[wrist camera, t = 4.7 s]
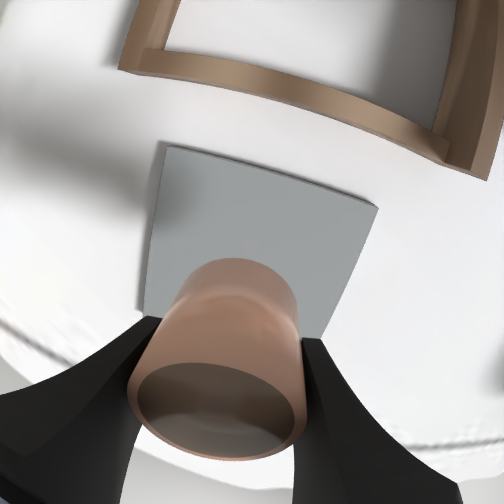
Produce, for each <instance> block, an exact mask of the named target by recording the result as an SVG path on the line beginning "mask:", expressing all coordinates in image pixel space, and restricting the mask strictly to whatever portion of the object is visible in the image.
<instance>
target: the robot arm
mask: <svg viewBox="0 0 504 504" xmlns="http://www.w3.org/2000/svg"><path fill="white" fill-rule="evenodd" d="M162 319H163V318H159V317H153V316H148V315H147V316H145V317H144V318H142V319H141V320H140V321H138V322H137V323H136V324H134V325H133V326H132V327H130V328H129V329H128V330H126V331H125V332H124V333H122V334H121V335H120V336H118V337H117V338H116V339H114V340H113V341H112V342H110V343H109V344H107V345H106V346H105V347H103V348H102V349H100V350H99V351H97V352H96V353H94V354H92V355H91V356H89V357H88V358H86V359H85V360H83V361H82V362H80V363H78V364H76V365H75V366H73V367H71V368H69V369H67V370H65V371H63V372H62V373H60V374H58V375H55V376H53V377H51V378H49V379H46V380H44V381H41V382H39V383H37V384H34V385H32V386H29V387H26V388H23V389H20V390H17V391H13V392H10V393H6V394H2V395H0V504H119V503H120V497H121V493H122V488H123V483H124V480H125V476H126V472H127V468H128V463H129V460H130V457H131V454H132V450H133V447H134V443H135V441H136V438H137V435H138V433H139V431H140V428H141V426H142V423H141V422H140V421H139V419H138V418H137V417H136V415H135V414H134V412H133V410H132V408H131V406H130V404H129V401H128V396H127V385H128V381H129V379H130V377H131V375H132V373H133V371H134V369H135V367H136V366H137V364H138V362H139V360H140V358H141V357H142V355H143V353H144V351H145V349H146V348H147V346H148V344H149V342H150V340H151V339H152V337H153V335H154V333H155V332H156V330H157V328H158V326H159V325H160V323H161V321H162ZM301 346H302V357H303V368H304V380H305V393H306V406H307V423H306V426H305V429H304V431H303V433H302V435H301V436H300V437H299V438H298V440H297V441H295V442H294V443H293V447H294V487H293V501H292V504H463V501H462V497H461V494H460V491H459V488H458V485H457V483H455V482H453V481H452V480H450V479H448V478H446V477H445V476H443V475H441V474H440V473H438V472H436V471H435V470H433V469H431V468H430V467H428V466H427V465H426V464H424V463H423V462H422V461H420V460H419V459H417V458H416V457H415V456H413V455H412V454H411V453H410V452H408V451H407V450H406V449H405V448H404V447H403V446H402V445H400V444H399V443H398V442H397V441H396V440H395V439H394V438H393V437H391V436H390V435H389V434H388V433H387V432H386V431H385V430H384V429H383V428H382V427H381V425H380V424H379V423H378V422H377V421H376V420H375V419H374V418H373V417H372V415H371V414H370V413H369V412H368V411H367V409H366V408H365V407H364V406H363V404H362V403H361V402H360V400H359V399H358V398H357V396H356V395H355V394H354V392H353V391H352V389H351V388H350V386H349V385H348V383H347V382H346V380H345V379H344V377H343V376H342V374H341V373H340V371H339V370H338V368H337V366H336V365H335V363H334V361H333V360H332V358H331V356H330V355H329V353H328V351H327V349H326V347H325V346H324V344H323V342H322V341H321V339H318V338H306V337H302V340H301Z"/></svg>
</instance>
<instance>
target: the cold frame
mask: <svg viewBox="0 0 504 504" xmlns="http://www.w3.org/2000/svg"><path fill="white" fill-rule="evenodd" d="M180 2H181V0H140V2H139V5H138V8H137V10H136V13H135V16H134V18H133V21H132V24H131V27H130V30H129V33H128V36H127V39H126V42H125V45H124V49H123V52H122V55H121V59H120V62H119V66H118V70H122V71H125V72H129V73H132V74H136V75H141V76H151V77H159V78H167V79H174V80H181V81H187V82H193V83H199V84H204V85H210V86H215V87H220V88H225V89H229V90H234V91H238V92H243V93H247V94H251V95H255V96H259V97H263V98H267V99H271V100H274V101H278V102H281V103H285V104H288V105H292V106H295V107H298V108H302V109H305V110H308V111H311V112H314V113H317V114H320V115H323V116H326V117H329V118H332V119H335V120H338V121H340V122H343V123H346V124H348V125H351V126H354V127H356V128H359V129H361V130H364V131H366V132H369V133H371V134H374V135H376V136H379V137H381V138H383V139H386V140H388V141H390V142H393V143H395V144H397V145H399V146H401V147H404V148H406V149H408V150H410V151H412V152H414V153H416V154H418V155H421V156H423V157H425V158H427V159H429V160H431V161H433V162H434V163H436V164H438V165H441V166H444V167H447V168H450V169H453V170H456V171H459V172H462V173H465V174H468V175H471V176H474V177H476V178H479V179H482V180H484V181H487V179H488V176H489V173H490V169H491V166H492V163H493V159H494V156H495V152H496V148H497V145H498V141H499V137H500V132H501V128H502V124H503V119H504V0H457V6H456V15H455V23H454V31H453V37H452V44H451V49H450V55H449V60H448V66H447V71H446V75H445V80H444V85H443V89H442V93H441V97H440V101H439V105H438V109H437V113H436V117H435V121H434V124H433V128H432V131H430V130H428V129H426V128H424V127H422V126H420V125H418V124H416V123H414V122H412V121H410V120H408V119H406V118H404V117H402V116H400V115H397V114H395V113H393V112H391V111H389V110H387V109H384V108H382V107H380V106H377V105H375V104H373V103H370V102H368V101H365V100H363V99H360V98H358V97H355V96H353V95H350V94H347V93H345V92H342V91H339V90H337V89H334V88H331V87H328V86H325V85H322V84H319V83H316V82H313V81H310V80H307V79H303V78H300V77H297V76H293V75H290V74H286V73H282V72H279V71H275V70H271V69H267V68H263V67H259V66H255V65H250V64H246V63H241V62H236V61H231V60H226V59H220V58H215V57H209V56H202V55H196V54H188V53H180V52H171V51H164V48H165V45H166V41H167V38H168V35H169V32H170V29H171V26H172V24H173V21H174V18H175V15H176V12H177V10H178V7H179V4H180Z"/></svg>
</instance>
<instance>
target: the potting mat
mask: <svg viewBox="0 0 504 504" xmlns="http://www.w3.org/2000/svg"><path fill="white" fill-rule="evenodd" d="M378 209H379V208H378V207H377V206H375V205H374V204H371V203H369V202H366V201H363V200H360V199H358V198H355V197H352V196H349V195H346V194H343V193H340V192H337V191H335V190H332V189H329V188H326V187H323V186H319V185H316V184H313V183H310V182H307V181H304V180H301V179H297V178H294V177H291V176H288V175H284V174H281V173H278V172H274V171H271V170H267V169H264V168H260V167H257V166H253V165H249V164H246V163H242V162H238V161H234V160H231V159H227V158H223V157H219V156H215V155H211V154H207V153H202V152H198V151H194V150H190V149H185V148H181V147H176V146H168V147H167V150H166V155H165V160H164V164H163V170H162V175H161V180H160V185H159V191H158V197H157V202H156V209H155V215H154V221H153V228H152V235H151V242H150V250H149V258H148V266H147V275H146V285H145V295H144V307H143V318H144V317H145V316H147V315H148V316H153V317H159V318H164V316H165V314H166V312H167V311H168V309H169V307H170V305H171V304H172V302H173V300H174V299H175V297H176V295H177V294H178V292H179V290H180V288H181V287H182V285H183V283H184V282H185V280H186V279H187V278H188V276H189V275H190V274H191V273H192V272H193V271H195V270H196V269H197V268H199V267H200V266H202V265H204V264H206V263H208V262H211V261H214V260H218V259H223V258H243V259H248V260H252V261H256V262H259V263H261V264H263V265H265V266H267V267H269V268H271V269H272V270H274V271H275V272H277V273H278V274H279V275H280V276H281V277H282V278H283V279H284V280H285V281H286V282H287V283H288V285H289V286H290V288H291V289H292V291H293V293H294V296H295V298H296V301H297V307H298V316H299V325H300V335H301V340H302V337H306V338H318V339H320V338H321V336H322V335H323V333H324V331H325V329H326V327H327V325H328V323H329V321H330V319H331V317H332V315H333V313H334V310H335V308H336V306H337V304H338V302H339V300H340V298H341V296H342V294H343V292H344V289H345V287H346V285H347V283H348V281H349V279H350V276H351V274H352V272H353V270H354V267H355V265H356V263H357V260H358V258H359V256H360V253H361V251H362V249H363V246H364V244H365V242H366V239H367V237H368V234H369V232H370V229H371V227H372V224H373V222H374V219H375V217H376V214H377V212H378Z"/></svg>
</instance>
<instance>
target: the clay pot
mask: <svg viewBox="0 0 504 504" xmlns="http://www.w3.org/2000/svg"><path fill="white" fill-rule="evenodd" d="M127 396H128V401H129V404H130V406H131V408H132V410H133V412H134V414H135V415H136V417H137V418H138V419H139V421H140V422H141V423H142V424H143V425H144V426H145V427H146V428H147V429H148V430H149V431H150V432H151V433H153V434H154V435H155V436H157V437H158V438H159V439H161V440H163V441H164V442H166V443H167V444H169V445H171V446H173V447H175V448H177V449H180V450H182V451H184V452H187V453H190V454H193V455H196V456H200V457H204V458H209V459H215V460H223V461H246V460H254V459H260V458H264V457H268V456H271V455H274V454H276V453H279V452H281V451H283V450H285V449H286V448H288V447H289V446H291V445H292V444H293V443H294V442H295V441H297V440H298V438H299V437H300V436H301V435H302V433H303V431H304V429H305V426H306V423H307V406H306V393H305V380H304V368H303V357H302V346H301V335H300V325H299V316H298V307H297V301H296V298H295V296H294V293H293V291H292V289H291V288H290V286H289V285H288V283H287V282H286V281H285V280H284V279H283V278H282V277H281V276H280V275H279V274H278V273H277V272H275V271H274V270H272V269H271V268H269V267H267V266H265V265H263V264H261V263H259V262H256V261H252V260H248V259H243V258H223V259H218V260H214V261H211V262H208V263H206V264H204V265H202V266H200V267H199V268H197V269H196V270H195V271H193V272H192V273H191V274H190V275H189V276H188V278H187V279H186V280H185V282H184V283H183V285H182V287H181V288H180V290H179V292H178V294H177V295H176V297H175V299H174V300H173V302H172V304H171V305H170V307H169V309H168V311H167V312H166V314H165V316H164V318H163V319H162V321H161V323H160V325H159V326H158V328H157V330H156V332H155V333H154V335H153V337H152V339H151V340H150V342H149V344H148V346H147V348H146V349H145V351H144V353H143V355H142V357H141V358H140V360H139V362H138V364H137V366H136V367H135V369H134V371H133V373H132V375H131V377H130V379H129V381H128V385H127Z"/></svg>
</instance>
